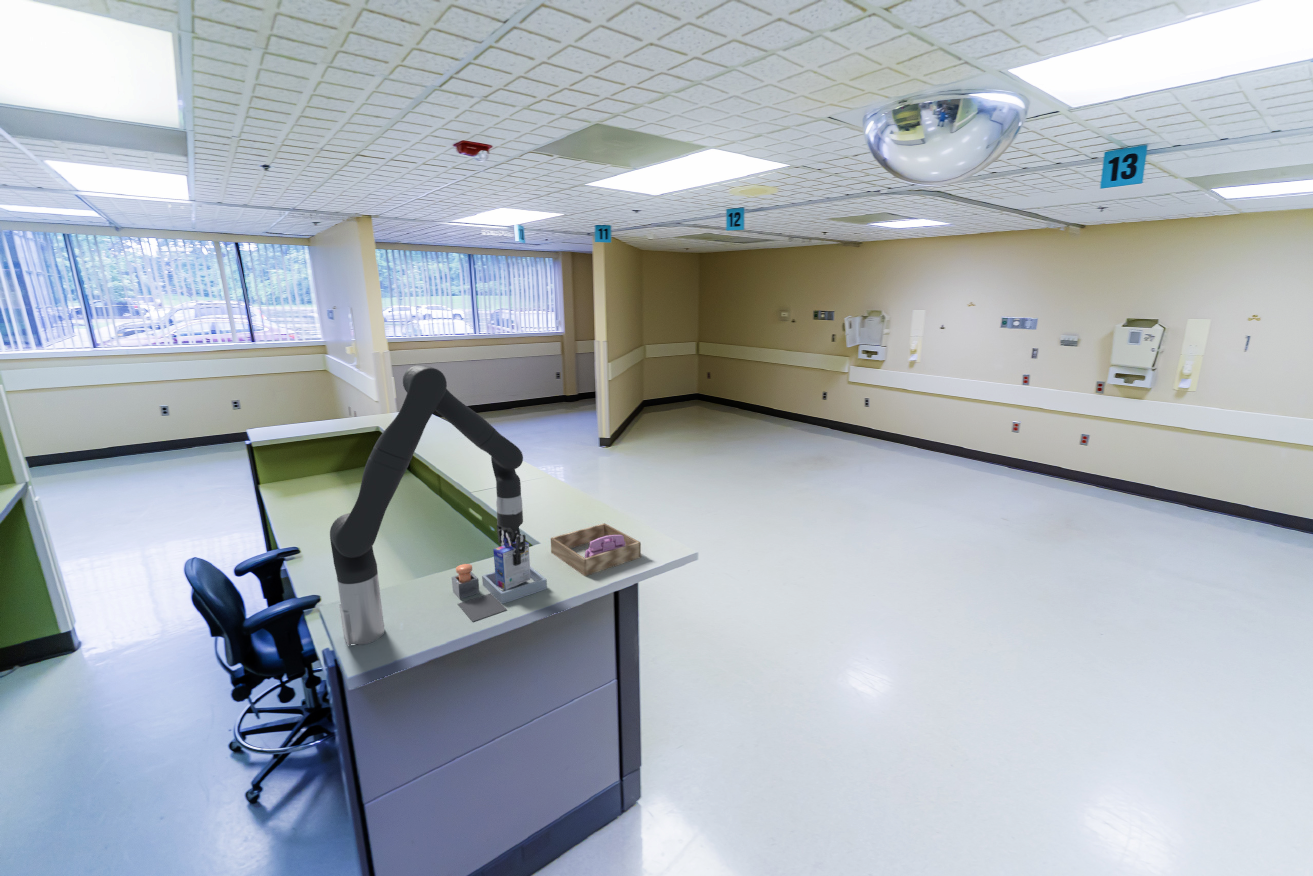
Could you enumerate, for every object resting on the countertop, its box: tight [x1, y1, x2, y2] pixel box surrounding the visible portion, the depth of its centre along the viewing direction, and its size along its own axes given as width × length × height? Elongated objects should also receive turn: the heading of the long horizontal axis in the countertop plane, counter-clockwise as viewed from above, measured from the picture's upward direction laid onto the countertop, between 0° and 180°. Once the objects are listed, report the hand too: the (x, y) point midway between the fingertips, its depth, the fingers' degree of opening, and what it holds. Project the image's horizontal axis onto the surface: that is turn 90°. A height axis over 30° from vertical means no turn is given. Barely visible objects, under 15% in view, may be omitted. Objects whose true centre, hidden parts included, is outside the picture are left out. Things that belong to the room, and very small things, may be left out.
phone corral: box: [550, 523, 642, 577], centre depth 194 cm, size 23×23×6 cm
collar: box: [481, 566, 548, 605], centre depth 172 cm, size 15×15×4 cm
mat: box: [457, 592, 508, 623], centre depth 160 cm, size 10×12×1 cm
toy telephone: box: [584, 535, 626, 558], centre depth 187 cm, size 18×6×10 cm, turn 121°
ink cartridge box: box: [492, 538, 532, 591], centre depth 170 cm, size 10×6×14 cm, turn 142°
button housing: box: [451, 571, 480, 600], centre depth 168 cm, size 6×6×5 cm
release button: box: [455, 563, 473, 583], centre depth 168 cm, size 5×5×8 cm
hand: (512, 561), depth 170 cm, fingers closed on ink cartridge box, 5 cm apart
